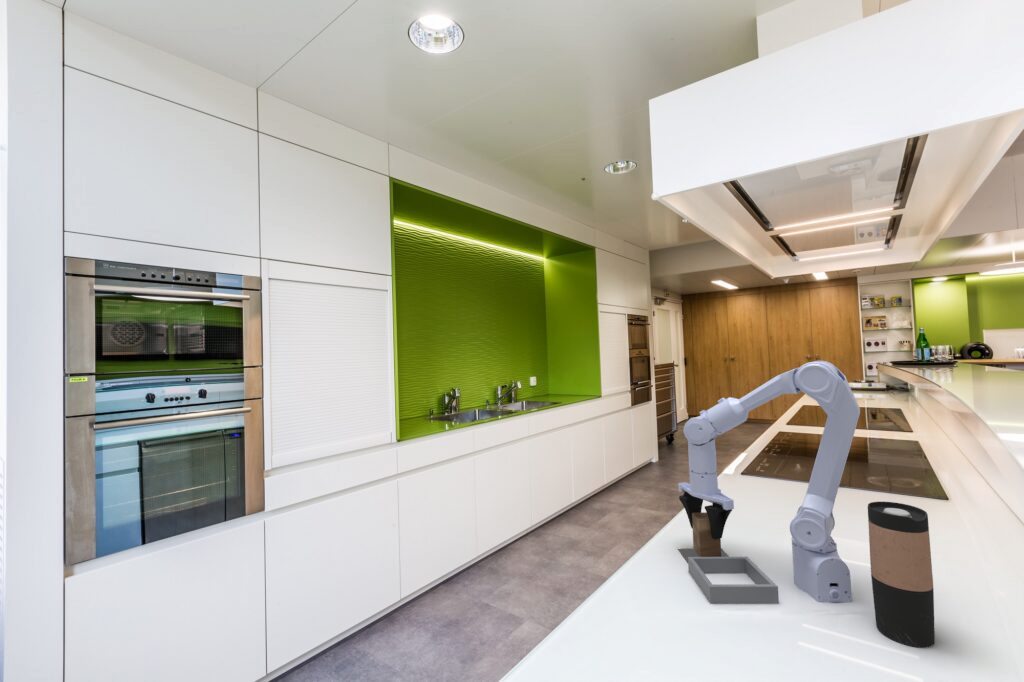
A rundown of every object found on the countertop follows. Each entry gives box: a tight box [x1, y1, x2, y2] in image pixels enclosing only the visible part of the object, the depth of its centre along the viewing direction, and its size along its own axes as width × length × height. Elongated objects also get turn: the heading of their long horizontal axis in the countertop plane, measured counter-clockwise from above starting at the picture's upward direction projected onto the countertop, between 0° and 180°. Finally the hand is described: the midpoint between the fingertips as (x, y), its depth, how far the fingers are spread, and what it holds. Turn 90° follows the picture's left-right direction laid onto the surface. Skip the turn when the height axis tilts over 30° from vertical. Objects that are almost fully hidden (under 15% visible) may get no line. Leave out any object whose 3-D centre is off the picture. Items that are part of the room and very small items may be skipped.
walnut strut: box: [692, 511, 722, 557], centre depth 99 cm, size 4×4×8 cm
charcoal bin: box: [687, 556, 780, 605], centre depth 87 cm, size 12×12×4 cm
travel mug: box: [867, 501, 936, 649], centre depth 73 cm, size 8×8×20 cm
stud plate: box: [677, 547, 730, 564], centre depth 99 cm, size 10×10×5 cm
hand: (706, 532), depth 99 cm, fingers closed on walnut strut, 6 cm apart
